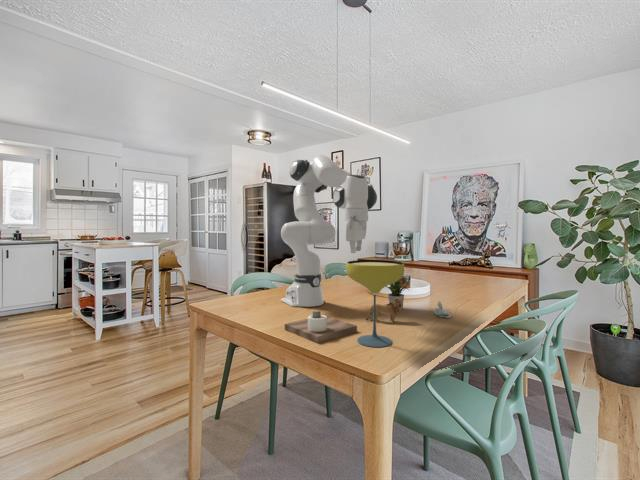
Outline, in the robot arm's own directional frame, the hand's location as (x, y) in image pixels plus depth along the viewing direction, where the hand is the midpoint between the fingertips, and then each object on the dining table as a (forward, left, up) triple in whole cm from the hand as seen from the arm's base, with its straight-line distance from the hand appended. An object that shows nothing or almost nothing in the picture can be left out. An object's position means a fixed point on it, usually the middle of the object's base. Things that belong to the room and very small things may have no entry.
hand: (356, 251), depth 128 cm
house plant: (+1, +25, -27) cm, 37 cm away
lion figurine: (+9, +7, -27) cm, 29 cm away
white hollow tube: (+5, -24, -25) cm, 35 cm away
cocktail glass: (+22, -14, -27) cm, 37 cm away
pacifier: (+20, +30, -27) cm, 45 cm away
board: (+2, -20, -27) cm, 33 cm away
